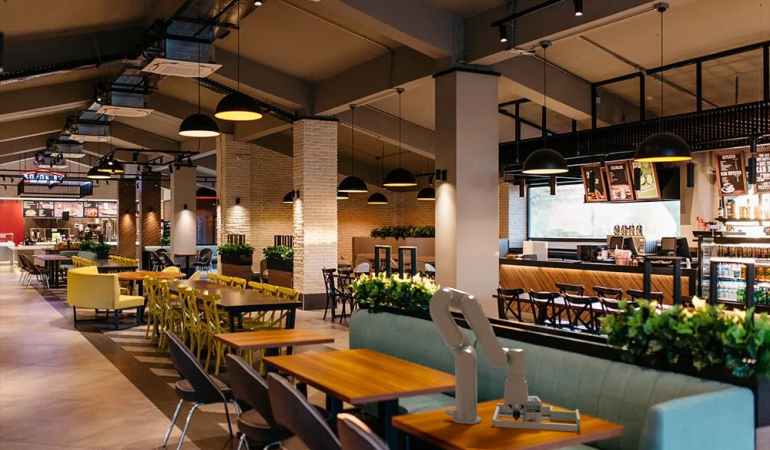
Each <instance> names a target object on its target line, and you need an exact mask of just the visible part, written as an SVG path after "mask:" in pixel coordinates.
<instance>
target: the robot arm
mask: <svg viewBox="0 0 770 450" xmlns="http://www.w3.org/2000/svg"><path fill="white" fill-rule="evenodd" d="M428 308H429V315H430V317H431V320H432V322H433V323H434V325H435V327H436V328H437V329H436V330H437V331H438V333H439V335H441V338H442V340H443V342H444V344H445V345H446V347H448V348H450V350H451V352H452V354H453V355H454V357H455V358H454V371H455V373H454V374H455V375H454V376H455V377H454V378H455V379H454V380H455V381H454V385H455V387H454V388H455V409H453V410H450V409H446V410H445V415H447V416H452V418H451V420H452V422H454V423H456V424H461V425H474V424H478V423H480V422H482V417H481V416H478V354H477V351H476V349H475V348H474V346H473V344H472V342H471V340H470V339H469V337H468V335H467V333H466V332H465V330H464V329H463V327H461V326H460V325H458V324H457V323H456V321H455V319H454V316H453V315H452V313H451V311H450V309H449V308H452V309H454V310H458V311H460V312H461V313H462V315H463V317H464V319H465V320H466V322H467V324H468V325H469V327H470V329H471V331H472V333H473V334H474V337H475V338H476V339H477V342H479V345H480V346H481V349H482V350H483V352H484V354H485V356H486V357H487V359H488V360H489V362H490V364H491V365H492V366H493V367H494V368H498V369H501V368H503V367H505V366H506V365H507V372H506V373H505V374H504V375H503V376H504V378H505V379H506V380H505V382H504V395H503V397H504V401H503V402H504V403H503V404H504V405H505V406H509V407H510V408H511V409H512V410H513V419H514V421H519V419H521V418H520V410H521V409H523V408H524V407H525V403H526V399H528V396H529V389H528V388H529V387H528V381H527V380H526V353H525V350H524V349H522V348H507V347H506V348H505V347H502V345H501V343H500V341H499V339H498V338H497V336H496V334H495V332H494V328H493V327H492V326H493V325H492V324H491V322H490V321H489V318H488V317H487V315H486V314H485V312H484V310H483V308H482V307H481V304H480V303H479V301H478V298H477V297H476V296H475V295H473V294H471V293H467V292H463V291H460V290H458V289H454V288H451V287H448V286H442V287H440V288H438V289H437V290H436V292H434V294H433V296H432V298H431V300H430V302H429V307H428ZM515 405H518V409H517V417H516V408H515Z"/></svg>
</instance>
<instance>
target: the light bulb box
mask: <svg viewBox="0 0 770 450" xmlns="http://www.w3.org/2000/svg"><path fill="white" fill-rule="evenodd" d="M542 406H543V401H542V400H541V399H540V398H539V396H537V395H528V399H526V403H525V407H524V408H523V418H522V420H523V422H541V423H543V421H542V420H543V419H542Z"/></svg>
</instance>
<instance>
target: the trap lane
mask: <svg viewBox="0 0 770 450" xmlns="http://www.w3.org/2000/svg"><path fill="white" fill-rule="evenodd" d="M495 408H496V409H495V411H494V415H493V417H492V427H497V428H511V429H512V428H514V429H527V430H528V429H532V430H534V429H535V430H547V431H566V432H579V431H580V432H581V417H580V413H579V411H580V410H579V409H575V410H574V411H570V410H554V406H553V405H542V420H547V421H548V420H550V421H560V422H561V421H564V422H575V424H574V423H573V424H572V423H571V424H570V423H556V422H542V423H541V422H524V420H523V421H519V420H505V419H503V420H501V419H499V418H513V410H512V409H511V408H510V407H509V406H505V405H504V403H502V402H501V403H500V402H499V403H498V402H497V403H496V407H495ZM515 408H516V417H517V409H518V405H515ZM513 419H514V418H513ZM519 419H523V409H521V410H520V418H519Z"/></svg>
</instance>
